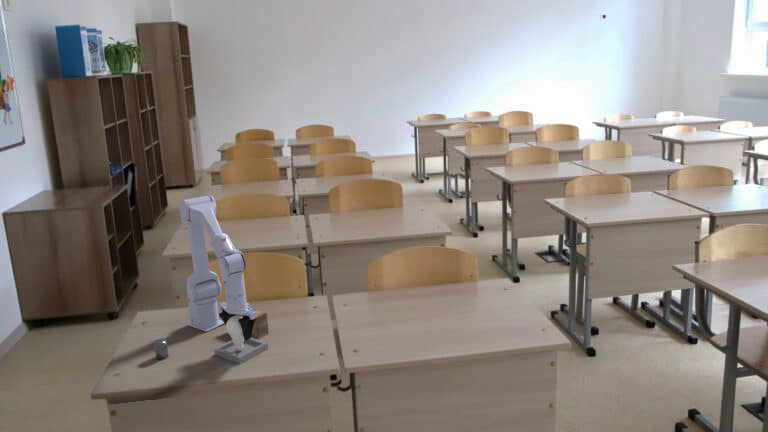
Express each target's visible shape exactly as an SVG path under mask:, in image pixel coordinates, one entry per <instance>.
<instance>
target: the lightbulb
mask: <svg viewBox="0 0 768 432" xmlns="http://www.w3.org/2000/svg"><path fill="white" fill-rule="evenodd" d="M241 318H243V317H241V316H233V317H231V318H230V319H229V320H228V321H227V324H226V326H225V328H226V331H227V333H228V335H229V334H230V335H229V336H230V337H231V340H233V343H234V346H235V350H238V351H241V350H242V349H243V342H244V337H243V331H242V328H241V325H240V323H239V322H238V320H239V319H241Z"/></svg>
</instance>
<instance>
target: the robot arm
mask: <svg viewBox="0 0 768 432" xmlns="http://www.w3.org/2000/svg"><path fill="white" fill-rule="evenodd" d="M178 210H179V216H180V221H181V223H182V224H184V225H186V227H187V233H188V240H189V245H190V253H191V260H192V267H193V272H192V274H190V276H189V277H188V278H187V279H186V295H187V298H188V300H189V303H188V314H189V315H188V316H189V321H190V322H189V323H188V326H189V327H192V328H193V329H197V330H200V331H203V332H205V333H207V332H209V331H212V330H214V329H215V328H218V327H220V326H223V325H224V326H225V327H226V324H227V321H228V320H229V319H230V318H231V317H233V316H236V314H238V315H242V316H243V317H244V318H241V319H239V320H238V322H239V323H240V325H241V328H242V331H243V337H244V339H245V340H248V339H250V338H252V337H253V336H252V330H253V326H254V323H255V321H256V319H257V312H256V311H254V310H255V309H254V310H252V309H253V308H252V307H250V303H249V302H247V296H246V295H247V294H246V286H245V278H244V277H245V275H244V272H245V271H246V269H247V261H246V257H245V255H244V254H243V252H242V251H241V250H239V249H236V247H235V246H234V244H233V242H232V240H231V239H230V237H229V234H227V233H223V231H222V229H221V228H222V227H221V226H220V223H219V221H218V219H217V217H216V216H217V203H216V200H215V198H214V197H213V196H212V195H210V194H208V195H205V196H200V197H193V198H188V199H181V201H180V202H179V206H178ZM205 231H206V233H207V235H208V236H209V237H210V243H209V244H210V247H211V249H212V250H213V253H214V254H215V256H216V258H217V260H218V270H219V271H220V275H221V280H222V281H223V284H224V285H223V286H224V293H225V301H222V302H218V300H219V298H220V296H221V294H222V285H221V282H220V278H219V275H218V274H217V273H216V272H214V271H212V270H210V261H209V256H208V249H207V241H206V235H205ZM219 310H220V313H219ZM228 335H229V336H230V334H229V333H228Z"/></svg>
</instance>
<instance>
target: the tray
mask: <svg viewBox="0 0 768 432" xmlns="http://www.w3.org/2000/svg"><path fill="white" fill-rule="evenodd" d="M268 349H269V345H268V342H265V341H262V340H260V339H257V338H255V337H254V338H253V337H251V338H250V339H248V340H245V339H244V342H243V349H242V350H241V351H238V350H235V346H234V343H233V340H232V339H231V340H229V341H227V342H226V343H223V344H221V345H220V346H218V347H215V348H214V355H216V356H219V357H222V358H224V359H226V360H229V361H231V362H235V363H237V364H239V365H240V364H242V363H244V362H246V361H249V359H252V358H254V357H256V356H257V355H259V354H260V353H262V352H265V351H266V350H268Z"/></svg>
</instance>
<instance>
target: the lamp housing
mask: <svg viewBox="0 0 768 432" xmlns="http://www.w3.org/2000/svg"><path fill="white" fill-rule="evenodd" d="M251 309H252V310H254V311H256V312H257V319H256V321H255V323H254V326H253V330H252V336H251V337H254V338H256V339H257V338H258V339H261V338H263V337H265V336H267V335H269V324H268V314H267V312H265V311H261V310H257V309H255V308H251ZM236 316H241V317H243V316H242V315H238V314H236ZM243 318H244V317H243Z"/></svg>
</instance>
